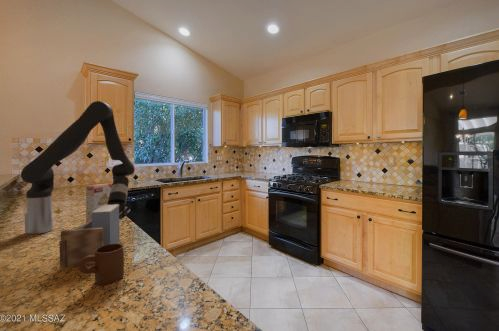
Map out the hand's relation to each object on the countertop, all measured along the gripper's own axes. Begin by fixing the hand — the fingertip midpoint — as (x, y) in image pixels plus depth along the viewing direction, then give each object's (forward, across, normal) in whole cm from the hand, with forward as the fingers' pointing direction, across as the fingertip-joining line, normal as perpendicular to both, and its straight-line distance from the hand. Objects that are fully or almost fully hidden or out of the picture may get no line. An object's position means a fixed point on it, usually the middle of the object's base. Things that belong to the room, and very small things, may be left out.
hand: (112, 227), depth 102 cm
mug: (+30, +6, -22) cm, 38 cm away
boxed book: (+9, 0, -1) cm, 10 cm away
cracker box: (-22, -15, +31) cm, 41 cm away
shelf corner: (+10, -3, -2) cm, 10 cm away
